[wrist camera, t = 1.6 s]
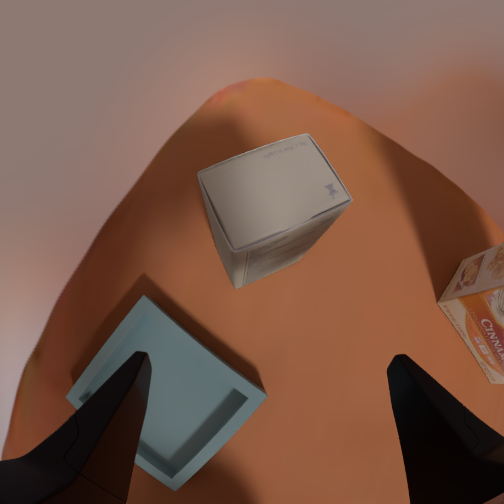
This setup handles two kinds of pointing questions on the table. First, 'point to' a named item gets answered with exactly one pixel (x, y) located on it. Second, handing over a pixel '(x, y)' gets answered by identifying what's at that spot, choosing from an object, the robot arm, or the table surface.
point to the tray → (174, 393)
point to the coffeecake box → (480, 308)
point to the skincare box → (271, 206)
